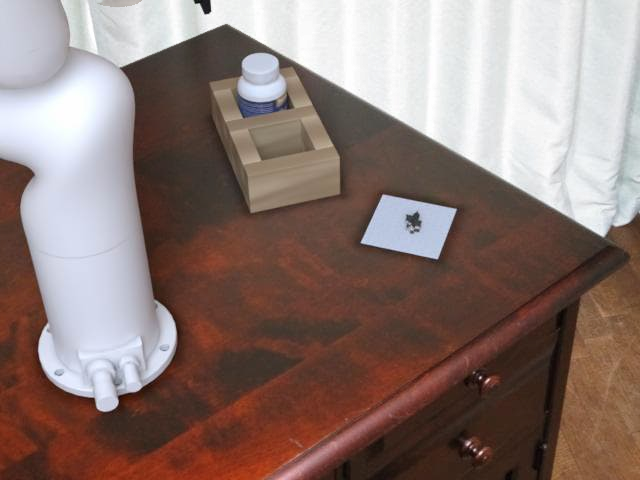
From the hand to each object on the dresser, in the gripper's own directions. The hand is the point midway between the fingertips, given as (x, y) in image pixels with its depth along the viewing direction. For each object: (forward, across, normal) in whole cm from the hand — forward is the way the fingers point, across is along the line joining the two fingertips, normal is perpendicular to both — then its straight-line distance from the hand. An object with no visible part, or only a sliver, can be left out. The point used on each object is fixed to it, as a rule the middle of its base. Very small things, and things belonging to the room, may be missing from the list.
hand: (250, 0), depth 118 cm
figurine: (+18, +11, -19) cm, 28 cm away
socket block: (+17, +1, -3) cm, 18 cm away
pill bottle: (+18, +1, 0) cm, 18 cm away
